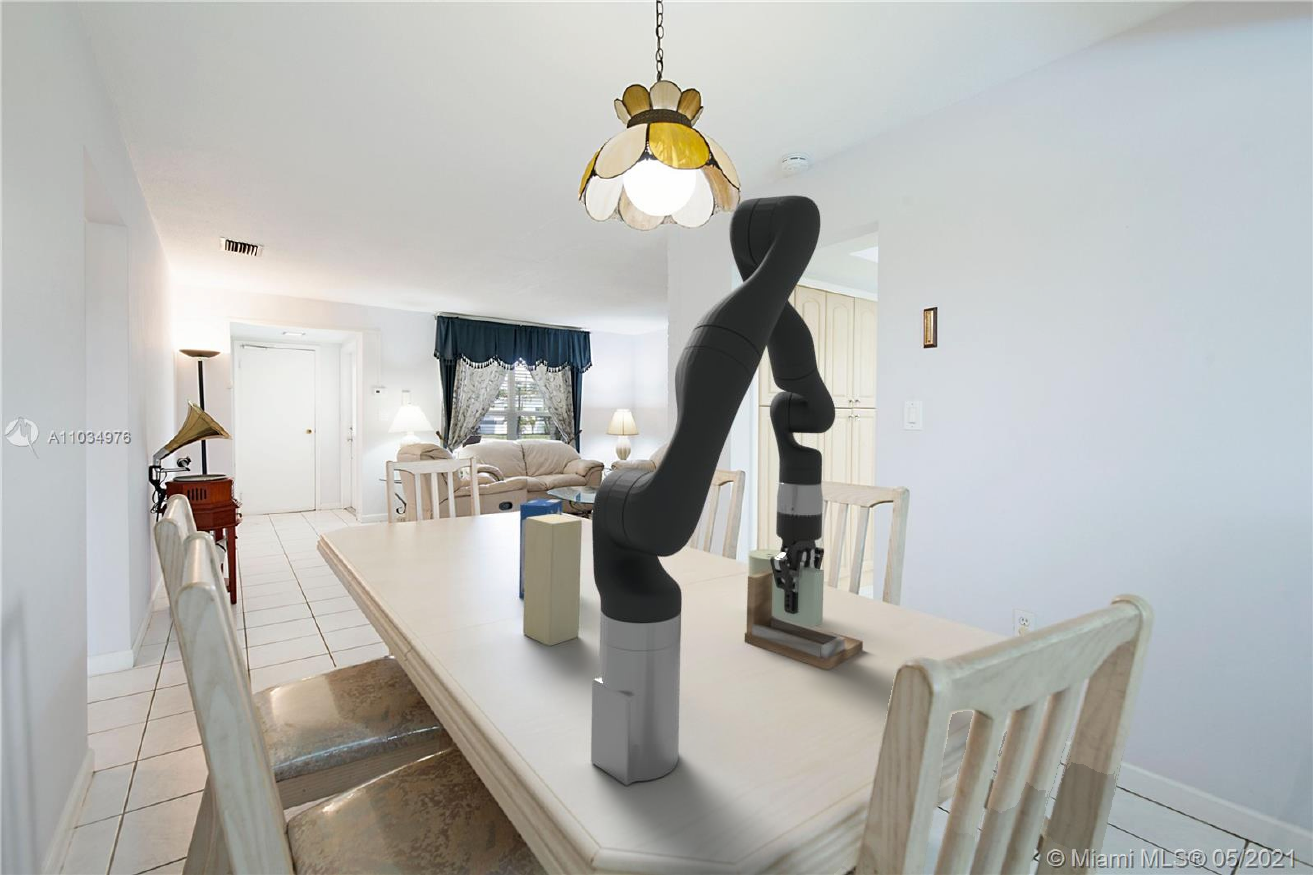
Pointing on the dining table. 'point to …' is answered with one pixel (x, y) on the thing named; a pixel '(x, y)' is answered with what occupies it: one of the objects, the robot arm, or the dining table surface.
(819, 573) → the door panel
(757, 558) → the can
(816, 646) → the track base
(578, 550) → the tall beige block
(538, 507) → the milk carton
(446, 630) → the dining table surface
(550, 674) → the dining table surface
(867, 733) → the dining table surface
